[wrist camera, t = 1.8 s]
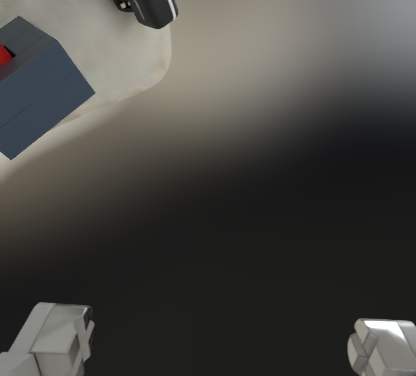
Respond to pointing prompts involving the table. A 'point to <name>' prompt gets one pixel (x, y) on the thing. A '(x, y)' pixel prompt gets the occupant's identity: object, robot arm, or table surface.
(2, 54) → the button
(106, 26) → the table surface
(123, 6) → the battery charger
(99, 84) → the table surface
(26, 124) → the control box
